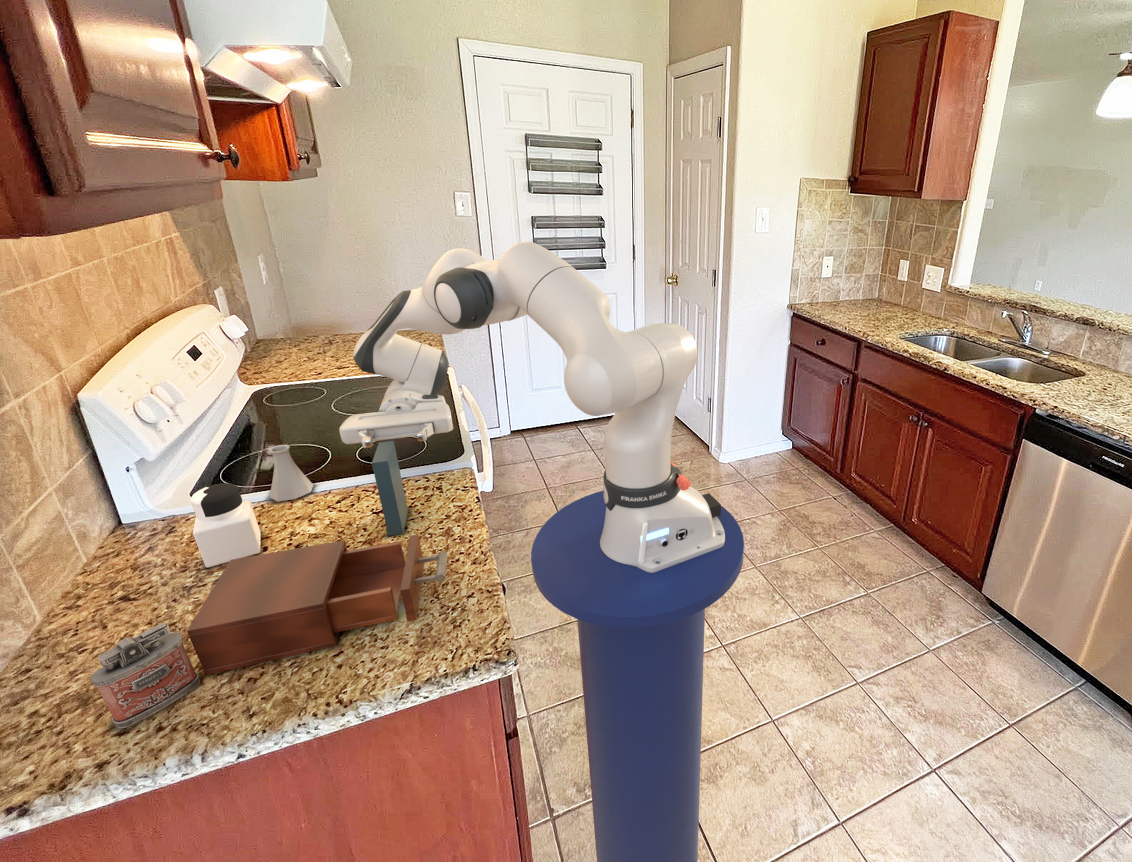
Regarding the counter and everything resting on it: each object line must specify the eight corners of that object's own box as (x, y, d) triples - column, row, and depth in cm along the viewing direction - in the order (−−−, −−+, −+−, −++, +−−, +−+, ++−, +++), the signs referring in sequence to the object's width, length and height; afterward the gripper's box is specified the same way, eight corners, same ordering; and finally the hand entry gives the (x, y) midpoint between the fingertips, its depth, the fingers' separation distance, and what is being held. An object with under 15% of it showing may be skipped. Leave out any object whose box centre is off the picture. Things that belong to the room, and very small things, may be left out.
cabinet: (355, 578, 92) (345, 540, 89) (335, 646, 79) (323, 603, 76) (245, 600, 87) (230, 559, 84) (205, 675, 74) (186, 630, 71)
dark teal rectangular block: (408, 509, 110) (393, 440, 104) (403, 533, 103) (387, 460, 97) (394, 512, 109) (378, 442, 103) (388, 536, 102) (371, 463, 96)
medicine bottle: (261, 532, 102) (241, 474, 97) (260, 553, 97) (240, 493, 92) (209, 546, 98) (186, 486, 93) (206, 569, 93) (181, 506, 88)
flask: (272, 506, 109) (258, 460, 106) (267, 490, 114) (253, 446, 110) (317, 493, 114) (305, 449, 110) (310, 479, 119) (298, 436, 115)
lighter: (121, 733, 67) (88, 670, 63) (109, 719, 68) (76, 657, 64) (205, 683, 73) (180, 623, 69) (193, 671, 75) (167, 612, 71)
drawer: (451, 557, 96) (446, 529, 94) (448, 612, 84) (442, 581, 82) (329, 581, 90) (320, 551, 88) (307, 644, 78) (296, 611, 76)
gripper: (343, 405, 118) (328, 433, 106) (451, 394, 125) (448, 420, 113) (349, 432, 120) (336, 463, 108) (455, 420, 127) (453, 448, 116)
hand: (394, 441), depth 111 cm, fingers open, 8 cm apart
